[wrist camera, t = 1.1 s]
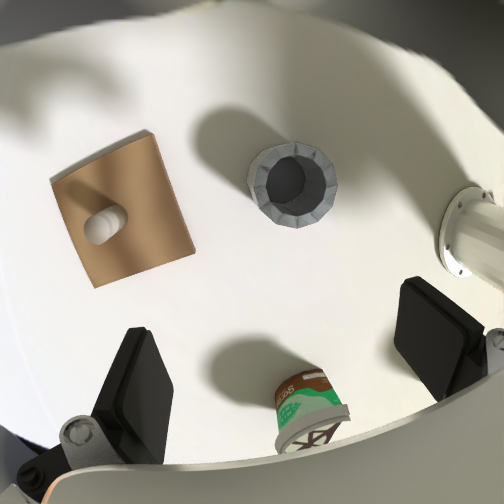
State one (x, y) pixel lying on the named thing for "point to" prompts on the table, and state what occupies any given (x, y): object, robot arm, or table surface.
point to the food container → (307, 412)
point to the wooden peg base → (123, 213)
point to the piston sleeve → (314, 192)
